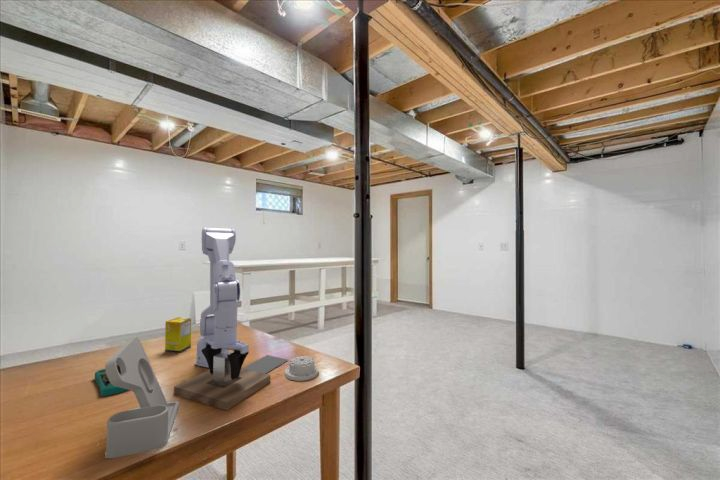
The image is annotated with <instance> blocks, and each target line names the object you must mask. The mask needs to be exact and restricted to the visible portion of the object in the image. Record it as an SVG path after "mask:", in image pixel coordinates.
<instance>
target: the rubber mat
mask: <svg viewBox="0 0 720 480" xmlns="http://www.w3.org/2000/svg"><path fill="white" fill-rule="evenodd" d="M287 360H289V359H288V358H282V357H279V356H278V357H277V356H272V355H268V354H267V355H265V356H263V357H261V358H259V359H257V360H255V361H252V362H251V363H249V364H246V365H245V366H242V368H243V369H247V370H252V371H256V372H260V373H264V374H268V373H270V372H272V371H273V370H275V369H277V368H279V367H280V366H282V365H283V364H282V363H284V362H285V363H287V362H288V361H287ZM286 361H287V362H286ZM285 363H284V364H285ZM281 364H282V365H281ZM279 365H280V366H279ZM276 367H277V368H276Z"/></svg>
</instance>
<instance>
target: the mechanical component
mask: <svg viewBox="0 0 720 480" xmlns="http://www.w3.org/2000/svg"><path fill="white" fill-rule="evenodd" d="M318 374H319V367H318V366H317V365H315V359H314V357H310V356H308V355H301V356H296V357H291V358H290V359H289V366H287V367H285V369H284V376H285V377H287V379H288V380H291V381H295V382H296V381H297V382H303V381H308V380H309V381H310V380H312V379H314V378H316V377H317V376H318Z"/></svg>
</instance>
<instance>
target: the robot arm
mask: <svg viewBox="0 0 720 480" xmlns="http://www.w3.org/2000/svg"><path fill="white" fill-rule="evenodd" d="M236 233H237V232H236V230H235V229H234V228H231V227H230V228H221V227H220V228H219V227H205V226H204V227H203V228H202V229H201V251H202V254H203V255H205V256H207V257H208V260H209V306H207V307H206V308H204V309H203V310H202V312H201V313H200V320H199V333H200V334H199V335H200V337H199V338H198V341H197V343H196V361H195V362H194V363H193V364H194V365H196V366H199V367H204V368H208V371H209V370H210V374H213V361H214V356H215V355H218V354H220V353H222V352H225V351H226V352H230V351H231V354H228V355H227V357H228V359H229V362H230V367H231V379H233V380H234V379H236V378H238V377H239V375H240V371H241V368H243V364H244V362H245V359H246V358H247V356H248V354H249V350H250V348H249V346H250V345H249V344H248V343H244V342H243V341H241V340H238V339H237V335H238V302H239V301H240V299H241V283H240V280H238V278H237V277H236V268H235V265H234V263H233V262H232V261H230V254H232V253H233V251H234V247H235V245H236V242H237V241H236V238H237V236H236V235H237V234H236Z"/></svg>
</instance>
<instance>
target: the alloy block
mask: <svg viewBox="0 0 720 480" xmlns="http://www.w3.org/2000/svg"><path fill="white" fill-rule="evenodd" d="M231 353H232V351H229V352H226V351H225V352H222V353H220V354H218V355H215V356H214V361H213V385H215V386H218V387H222V388H225V387H227V386H229V385H230V384H232V383H234V382H236V379H234V380H233V379H231V367H230V362H229V359H228V357H227V355H228V354H231Z"/></svg>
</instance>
